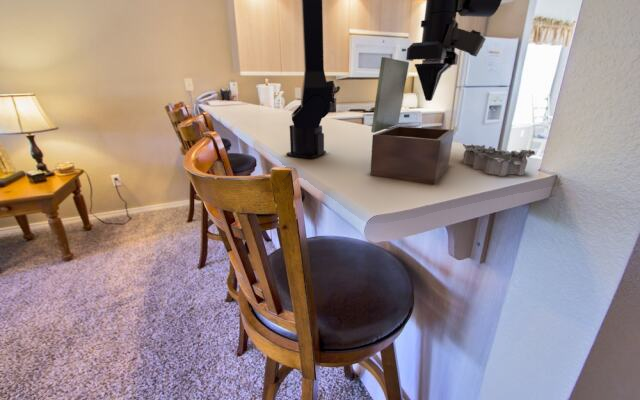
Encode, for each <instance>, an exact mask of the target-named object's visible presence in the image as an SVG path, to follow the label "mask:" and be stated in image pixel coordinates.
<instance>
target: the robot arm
mask: <svg viewBox="0 0 640 400" xmlns="http://www.w3.org/2000/svg"><path fill="white" fill-rule="evenodd" d="M501 4H502V0H426V2H425V11H424V19H422V20H421V22H420V27H421V28H422V34H421V42H412V43H411V44H410V45H409V46H408V48H407V49H406V56H405V58H406V59H405V60H406V61H408V62H414V60H417V61H419V60H422V61H421V63H414V68H415V70H416V72H417V76H418V79H419V82H420V85H421V89H422V93H423V96H424V99H425V101H426V102H430V101H432V100H433V98H434V96H435V93H436V90H437V89H438V85H439V82H440V80H441V78H442V75H443V74H444V73H445V72H446V71H447V70H448V69H450V68H451V67H452V66H457V65H458V60H459V54H458V53H457V52H456V49H457V50H459V51H462V52H465V53H468V54H469V55H470V56H473V57H477V56H478V54H479V52H480V51H481V49H483V47H484V44H485V42H486V38H485V36H483V35H482V32H481V31H476V30H475V29H472V30H471V31H468V30H465V29H461V28H459V23H458V21H457V20H456V19H457V13H458V15H459V16H460V17H475V18H476V17H477V18H481V17H482V18H491V17H492V16H494V14H495V13H496V12H497V11H498V9H499V8H500V6H501ZM301 17H302V20H301V21H302V39H303V40H302V43H303V63H304V70H303V71H304V72H303V78H302V79H303V80H302V85H301V86H302V87H301V96H300V105H298V107H296V109H295V110H294V111H293V112H292V113H291V122H292V124H290V125H289V143H290V145H289V146H290V151H288V152H285V153H286V154H285V155H286V156H288V157H295V158H301V159H302V158H303V159H309V160H310V159H314V158H317V157H319V156H322V155H325V154H326V153H327V150H325V134H324V133H323V125H321V122H322V120H323V119H324V118H326V116H327V115H329V113H330V111H331V107H332V104H335V100H334V98H333V91H334V80H327V78H326V74H325V68H324V65H325V63H324V62H325V61H324V30H323V29H324V25H323V24H324V18H323V0H301Z"/></svg>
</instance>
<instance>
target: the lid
mask: <svg viewBox="0 0 640 400" xmlns="http://www.w3.org/2000/svg"><path fill="white" fill-rule="evenodd" d="M380 59H381V60H380V65H379V66H380V67H379V72H378V73H379V74H378V81H377V88H376V94H375V102H374V110H373V116H372V123H371V130H370V132H371V133H374V134H376V133H379V132H382V131H384V130H387V129H390V128H393V127H396V126H398V125H399V122H400V117H401V111H402V105H403V100H404V93H405V89H406V83H407V76H408V71H409V65H410V61H405V60H400V59H395V58H390V57H385V56H382V57H381V58H380Z"/></svg>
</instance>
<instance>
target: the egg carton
mask: <svg viewBox="0 0 640 400" xmlns="http://www.w3.org/2000/svg"><path fill="white" fill-rule="evenodd" d="M462 146H463V147H464V149H465V150H463V151H464V152H463V156H462V161H461V162H462V164H463V165H469V166H470V165H471V166H472V168H473V169H475V170H484V171H485V172H484V173H485V174H487V175H492V176H493V175H495V176H499V177H503V176H504V177H505V176H507V174H508V175H509V174H510V175H511V174H512V175H517V176H524V175H525V172H526V167H527V165H528V158H530V157H532V156H534V155H535V154H536V151H535V150H531V149H521V150H520V151H517V150H511V151H509V150H502V149H497V150H496V147H492V146H489V147H488V148H486V145H485V144H482V145H477V144H476V145H474V144H465V143H462Z"/></svg>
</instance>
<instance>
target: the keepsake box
mask: <svg viewBox="0 0 640 400" xmlns="http://www.w3.org/2000/svg"><path fill="white" fill-rule="evenodd" d="M454 133H455V129H450V128H449V129H448V128H433V127H421V126H420V127H419V126H418V127H417V126H403V125H395V126H392V127H389V128H387V129H384V130H381V131H378V132H376V133H374V134H372V142H371V156H370V157H371V158H370V174H369V175H370V176H376V177H383V178H389V179H395V180H401V181H402V180H403V181H409V182H415V183H420V184H428V185H435V184H436V183H437V182H438V181H439V179H440V178H441V177H442V176H443V174H444V173H445V171H446V170H447V169H448V167H449V166H450V165H449V164H450V159H451V151H452V144H453V141H454V140H453V139H454V135H455V134H454Z"/></svg>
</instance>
